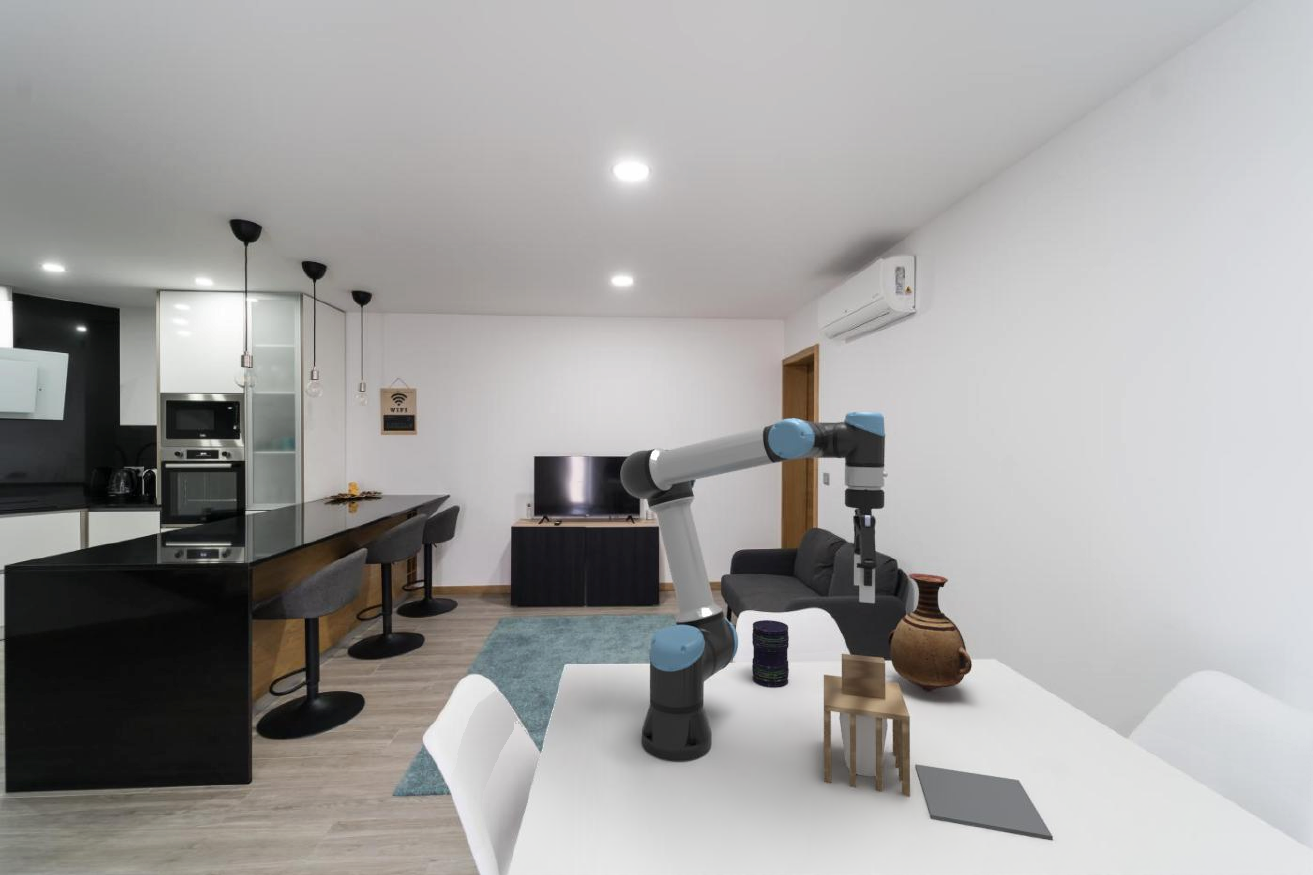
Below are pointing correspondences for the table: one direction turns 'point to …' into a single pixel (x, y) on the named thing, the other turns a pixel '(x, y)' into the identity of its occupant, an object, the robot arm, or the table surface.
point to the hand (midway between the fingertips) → (863, 593)
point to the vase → (929, 641)
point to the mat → (980, 801)
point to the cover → (867, 713)
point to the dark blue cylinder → (770, 653)
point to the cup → (862, 742)
